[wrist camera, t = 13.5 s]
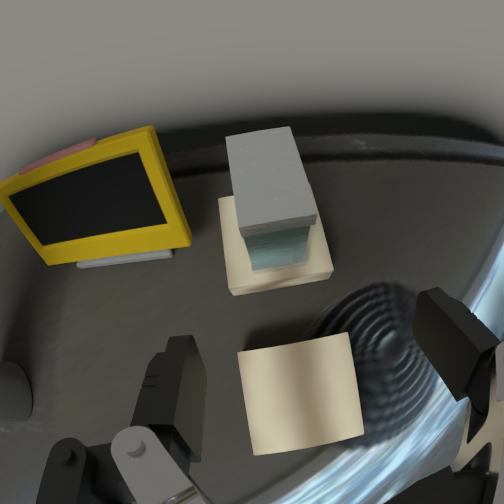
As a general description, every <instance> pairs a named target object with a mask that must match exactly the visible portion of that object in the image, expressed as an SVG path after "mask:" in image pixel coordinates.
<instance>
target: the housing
mask: <svg viewBox="0 0 504 504" xmlns="http://www.w3.org/2000/svg"><path fill="white" fill-rule="evenodd" d="M226 145H227V152H228V159H229V166H230V173H231V180H232V187H233V194H234V201H235V208H236V215H237V221H238V228H239V231H240V234H241V237H242V238H244V242H245V245H246V248H247V251H248V255H249V258H250V261H251V267H252V272H253V275H259V274H264V273H270V272H275V271H281V270H286V269H292V268H297V267H303V266H306V264H307V256H306V247H307V242H308V236H309V231H310V225H315V224H316V219H317V214H318V213H317V210H316V207H315V203H314V200H313V196H312V193H311V190H310V187H309V183H308V180H307V177H306V174H305V171H304V168H303V165H302V162H301V159H300V156H299V153H298V150H297V147H296V144H295V141H294V138H293V135H292V132H291V129H290V127H281V128H274V129H268V130H261V131H255V132H250V133H244V134H239V135H233V136H228V137H226Z"/></svg>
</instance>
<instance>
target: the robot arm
mask: <svg viewBox="0 0 504 504" xmlns="http://www.w3.org/2000/svg"><path fill="white" fill-rule="evenodd" d="M412 329H413V336H414V339H415V341H416V342H417V344H418V345H419V346H420V348H421V349H422V351H423V352H424V353H425V355H426V356H427V358H428V359H429V361H430V362H431V364H432V365H433V366H434V368H435V369H436V371H437V372H438V374H439V375H440V377H441V378H442V380H443V381H444V383H445V384H446V386H447V387H448V389H449V391H450V392H451V394H452V395H453V397H454V398H455V400H456V402H457V401H459V400H461V399H463V398H465V397H467V396H468V397H469V399H470V401H469V402H468V405H467V411H466V419H465V426H464V432H463V437H462V443H461V448H460V451H459V453H458V455H457V457H456V459H455V461H454V463H453V465H452V468H451V467H450V465H449V466H448V467H446V468H444V469H442V470H440V471H438V472H436V473H434V474H432V475H430V476H428V477H426V478H423V479H421V480H419V481H417V482H415V483H414V484H413V485H411V486H410V487H408V488H407V489H405V490H404V491H403V492H401V493H400V494H398V495H397V496H395V497H393V498H392V499H390V500H389V501H387V502H386V503H384V504H504V342H502V343H501V342H500V341H499V339H498V338H497V337H496V336H495V335H494V334H493V333H492V332H491V331H490V330H489V329H488V328H487V327H486V326H485V325H484V324H483V323H482V322H481V321H480V320H479V319H477V317H476V316H475V315H474V314H473V313H471V311H470V310H469V309H468V308H467V307H466V306H465V305H464V304H463V303H462V302H460V301H458V300H456V299H454V298H452V297H449V296H448V295H447V294H446V293H445V292H444V291H443V290H442V289H441V288H439V287H436V288H433V289H429V290H426V291H422V292H420V293H419V295H418V299H417V305H416V311H415V316H414V321H413V328H412ZM206 385H207V377H206V370H205V367H204V364H203V361H202V358H201V356H200V353H199V350H198V348H197V345H196V342H195V339H194V337H193V336H192V335H183V336H173V337H170V338H169V340H168V343H167V346H166V350H165V352H161V353H157V354H156V355H155V356H154V357H153V359H152V360H151V361H150V362H149V364H148V367H147V370H146V373H145V378H144V380H143V383H142V388H141V390H140V393H139V397H138V400H137V404H136V407H135V411H134V414H133V418H132V422H131V425H130V427H128V428H126V429H124V430H122V431H120V432H119V433H118V434H117V435H116V436H115V438H114V439H113V441H112V443H108V444H102V445H97V446H91V447H86V446H84V445H83V444H82V443H81V442H80V441H79V440H77V439H75V438H65V439H62V440H60V441H58V442H57V443H56V444H55V445H54V446H53V447H52V449H51V451H50V453H49V457H48V460H47V463H46V466H45V470H44V473H43V477H42V480H41V484H40V488H39V492H38V496H37V500H36V504H132V502H134V501H137V503H138V504H215V503H214V502H213V501H212V500H211V499H210V498H209V497H208V495H207V494H206V493H205V492H204V491H203V490H202V489H201V487H200V486H199V485H198V484H197V483H196V482H195V480H194V479H193V478H192V477H191V475H190V474H189V467H190V462H201V452H202V437H203V423H204V410H205V397H206ZM31 410H32V394H31V388H30V385H29V382H28V379H27V377H26V375H25V373H24V371H23V370H22V369H21V367H20V366H18V365H17V364H15V363H12V362H6V361H0V423H8V422H24V421H26V420H27V419H28V418H29V416H30V414H31Z"/></svg>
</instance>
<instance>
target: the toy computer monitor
mask: <svg viewBox="0 0 504 504" xmlns="http://www.w3.org/2000/svg"><path fill="white" fill-rule="evenodd" d="M0 201H1V203H2V204H3V206H4V207H5V209H6V210H7V212H8V213H9V215H10V216H11V218H12V219H13V221H14V222H15V223H16V225H17V226H18V227H19V229H20V230H21V232H22V233H23V234H24V236H25V237H26V238H27V240H28V241H29V242H30V243H31V245H32V246H33V247H34V249H35V250H36V251H37V252H38V254H39V255H40V256H41V257H42V258H43V260H44V261H45V262H46V263H47V264H48V265H55V264H62V263H69V262H76V261H77V267H79V268H80V269H81V268H90V267H98V266H106V265H114V264H122V263H130V262H138V261H146V260H155V259H163V258H171V257H173V252H172V248H179V247H187V246H190V245H191V242H192V234H191V231H190V228H189V226H188V223H187V220H186V218H185V215H184V212H183V210H182V207H181V204H180V202H179V199H178V196H177V193H176V190H175V188H174V185H173V182H172V179H171V176H170V174H169V171H168V168H167V165H166V162H165V159H164V156H163V153H162V151H161V147H160V144H159V141H158V138H157V135H156V133H155V129H154V127H153V126H152V125H149V126H146V127H142V128H138V129H134V130H131V131H127V132H124V133H121V134H118V135H114V136H111V137H108V138H104V139H102V140H99V141H96V139H95V138H94V139H90V140H87V141H85V142H82V143H79V144H77V145H74V146H72V147H69V148H66V149H64V150H61V151H59V152H57V153H54V154H52V155H49V156H47V157H45V158H42V159H40V160H38V161H36V162H33V163H32V164H29V165H27V166H25V167H23V168H22V169H20V170H19V172H18V174H15V175H13V176H12V177H9V178H7V179H5V180H3V181H2V182H0Z"/></svg>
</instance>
